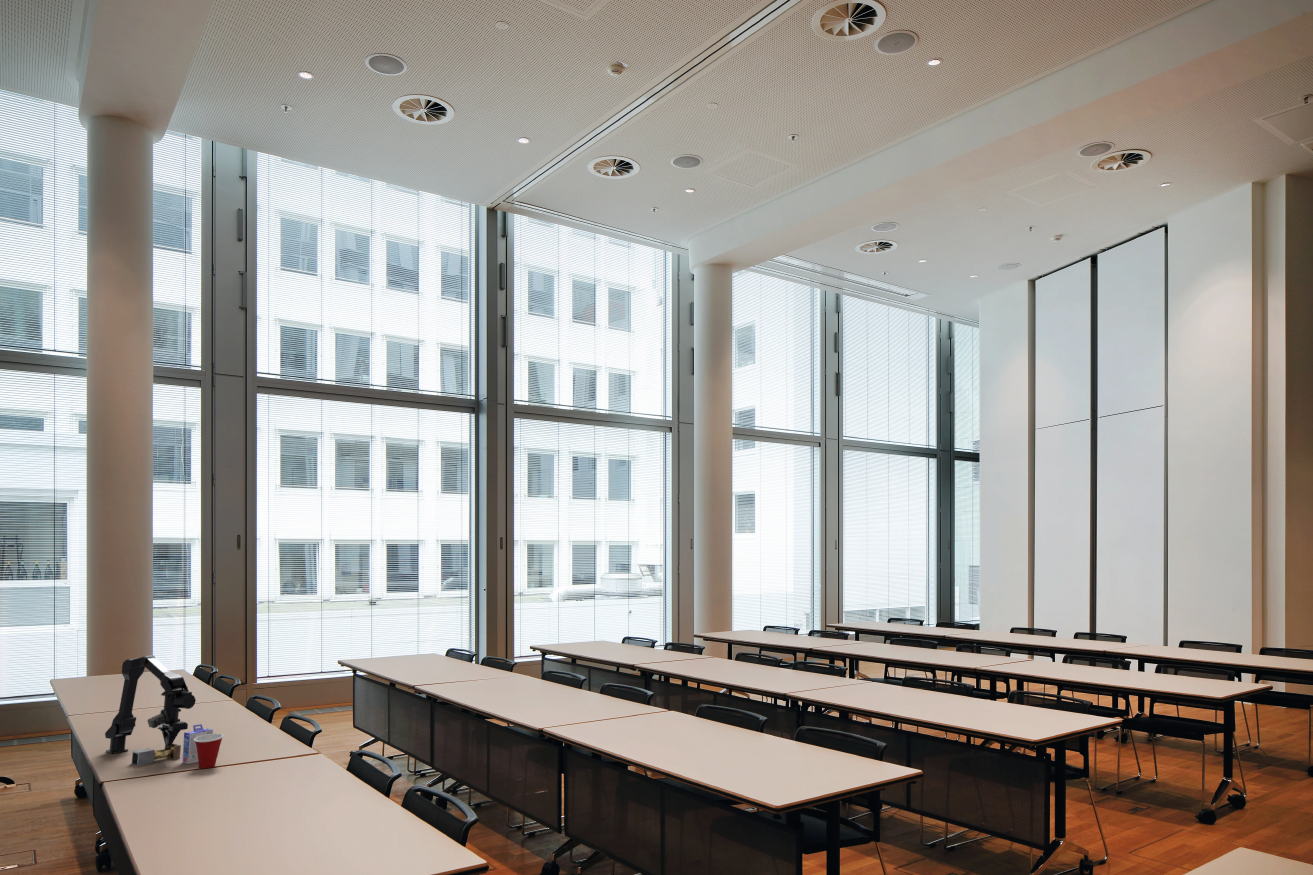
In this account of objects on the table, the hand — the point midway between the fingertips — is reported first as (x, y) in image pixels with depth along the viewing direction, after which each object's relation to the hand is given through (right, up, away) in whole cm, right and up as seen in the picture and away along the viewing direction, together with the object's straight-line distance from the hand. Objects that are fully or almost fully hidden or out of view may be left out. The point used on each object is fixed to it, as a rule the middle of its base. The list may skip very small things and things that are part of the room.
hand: (168, 744), depth 353 cm
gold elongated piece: (-1, -5, -2) cm, 6 cm away
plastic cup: (+23, -5, -12) cm, 26 cm away
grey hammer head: (-6, -4, -9) cm, 11 cm away
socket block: (+1, -6, +1) cm, 6 cm away
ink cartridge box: (+14, -6, -4) cm, 15 cm away
